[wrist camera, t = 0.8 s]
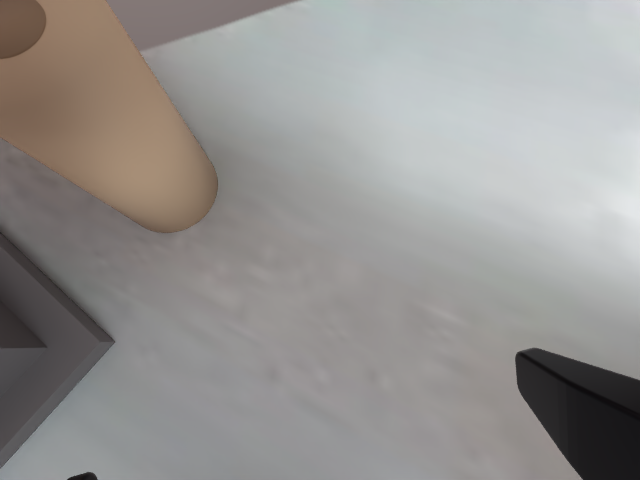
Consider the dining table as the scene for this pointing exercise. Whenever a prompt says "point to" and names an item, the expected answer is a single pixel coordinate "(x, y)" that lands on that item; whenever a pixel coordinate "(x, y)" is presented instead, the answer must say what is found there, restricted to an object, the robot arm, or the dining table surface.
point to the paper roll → (99, 113)
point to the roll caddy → (38, 347)
